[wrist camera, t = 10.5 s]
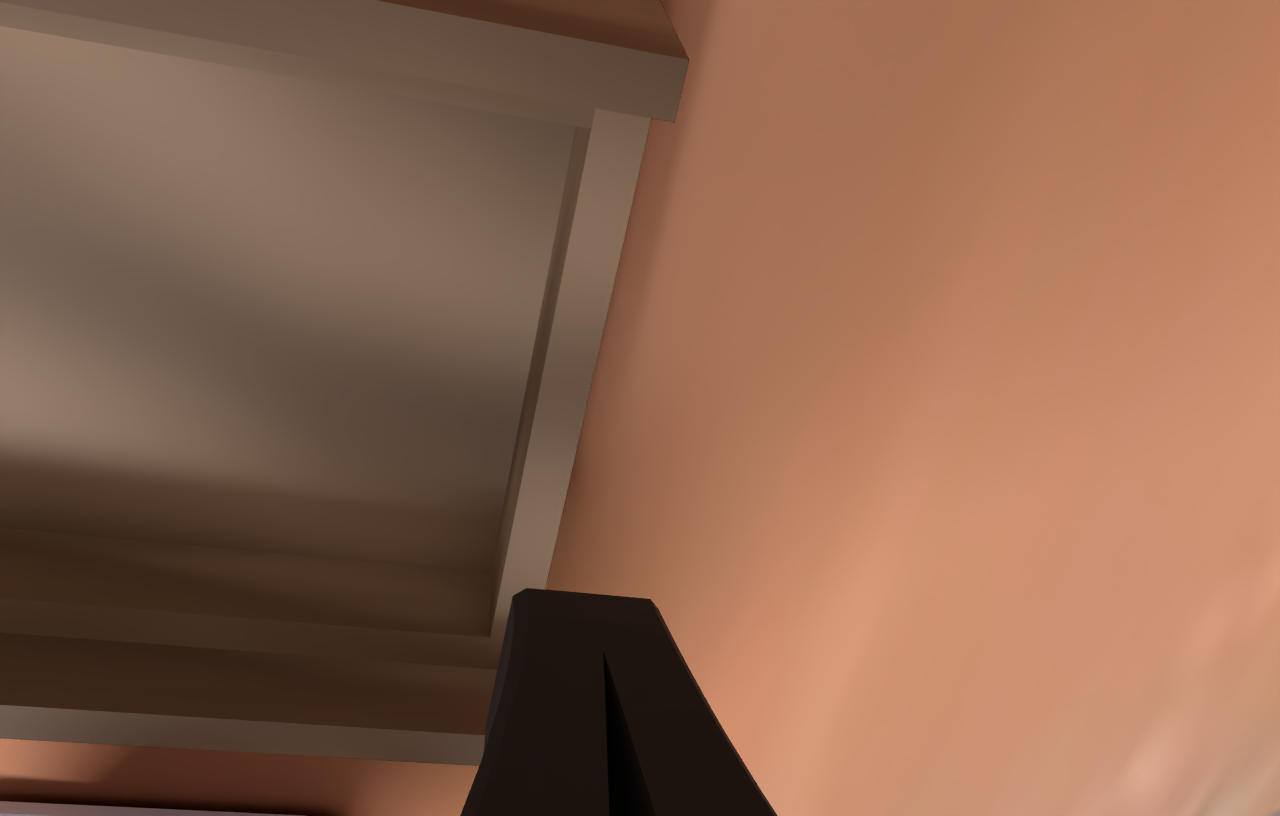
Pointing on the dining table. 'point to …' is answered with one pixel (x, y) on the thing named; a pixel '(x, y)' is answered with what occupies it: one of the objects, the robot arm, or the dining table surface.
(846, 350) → the dining table surface
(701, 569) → the dining table surface
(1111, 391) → the dining table surface
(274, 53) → the case
